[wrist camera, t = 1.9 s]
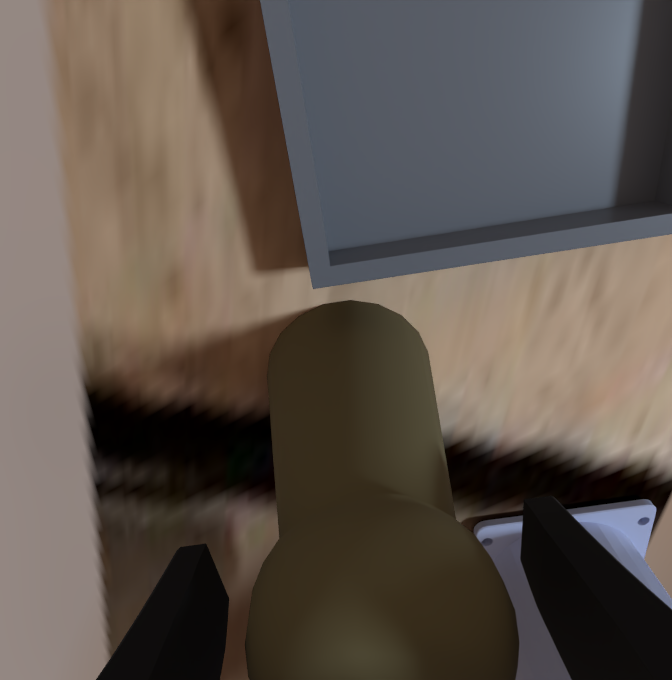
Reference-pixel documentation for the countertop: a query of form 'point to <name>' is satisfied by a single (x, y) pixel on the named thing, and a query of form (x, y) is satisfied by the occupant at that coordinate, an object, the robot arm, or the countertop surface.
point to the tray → (471, 128)
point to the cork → (369, 518)
